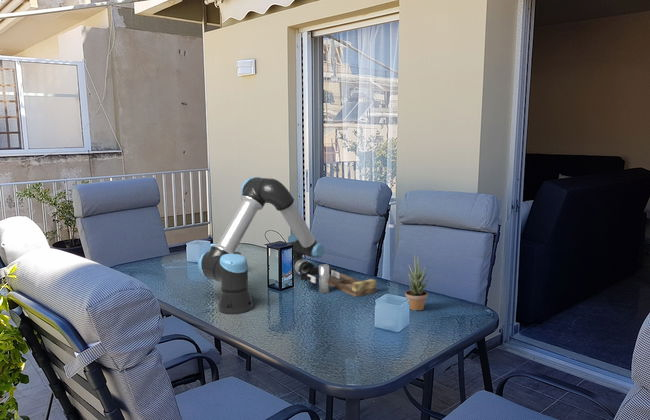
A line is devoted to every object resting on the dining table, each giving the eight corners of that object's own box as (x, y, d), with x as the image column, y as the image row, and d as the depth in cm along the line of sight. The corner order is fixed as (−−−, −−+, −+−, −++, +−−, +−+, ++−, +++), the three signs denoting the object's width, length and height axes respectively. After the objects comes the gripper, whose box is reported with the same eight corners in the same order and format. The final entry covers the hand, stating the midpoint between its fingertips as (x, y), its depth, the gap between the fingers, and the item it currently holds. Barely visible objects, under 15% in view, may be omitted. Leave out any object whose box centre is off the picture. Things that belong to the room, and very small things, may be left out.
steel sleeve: (322, 293, 247) (322, 267, 245) (317, 291, 252) (316, 265, 250) (331, 292, 250) (331, 265, 248) (325, 289, 254) (325, 263, 252)
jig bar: (355, 296, 242) (355, 284, 242) (321, 281, 268) (321, 270, 267) (376, 292, 249) (376, 280, 248) (341, 277, 274) (341, 266, 273)
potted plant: (413, 303, 232) (414, 249, 228) (431, 308, 225) (432, 253, 222) (400, 309, 225) (400, 253, 221) (418, 314, 219) (419, 257, 215)
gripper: (325, 271, 272) (348, 281, 255) (283, 279, 259) (304, 290, 241) (325, 257, 271) (348, 266, 253) (283, 264, 258) (304, 274, 240)
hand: (327, 278), depth 247 cm, fingers open, 13 cm apart
